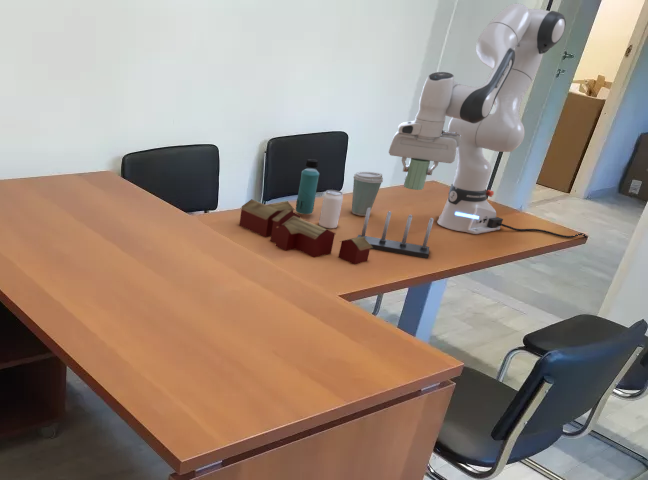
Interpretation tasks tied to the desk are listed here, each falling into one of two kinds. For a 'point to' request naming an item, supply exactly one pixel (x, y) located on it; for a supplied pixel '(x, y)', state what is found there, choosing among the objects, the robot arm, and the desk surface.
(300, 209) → the beverage bottle
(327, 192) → the can
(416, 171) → the cup
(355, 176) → the disposable coffee cup
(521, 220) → the desk surface
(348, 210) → the desk surface
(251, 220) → the toy houses
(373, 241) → the dish rack
